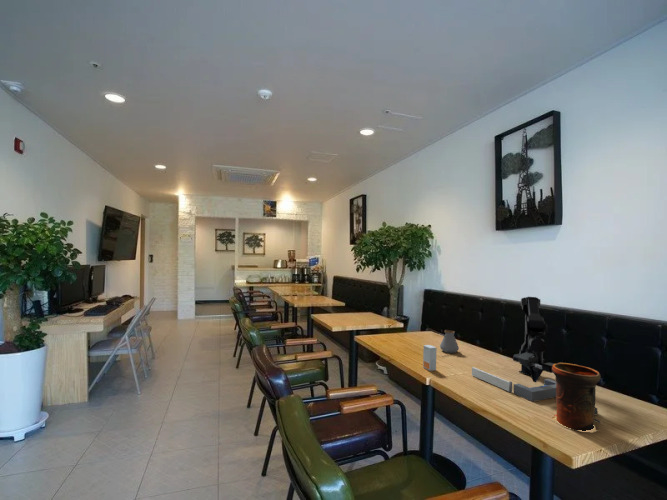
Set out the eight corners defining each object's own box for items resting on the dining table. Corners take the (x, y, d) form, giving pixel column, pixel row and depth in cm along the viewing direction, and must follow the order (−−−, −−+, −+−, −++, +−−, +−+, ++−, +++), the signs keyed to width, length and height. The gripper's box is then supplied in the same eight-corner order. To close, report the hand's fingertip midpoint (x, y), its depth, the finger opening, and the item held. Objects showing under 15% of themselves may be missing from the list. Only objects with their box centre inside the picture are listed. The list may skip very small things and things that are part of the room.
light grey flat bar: (512, 392, 150) (512, 382, 150) (510, 392, 150) (510, 382, 150) (473, 375, 172) (473, 366, 172) (471, 375, 171) (471, 366, 171)
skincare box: (422, 367, 182) (423, 345, 183) (429, 366, 184) (429, 344, 184) (429, 371, 177) (430, 348, 177) (436, 370, 178) (436, 347, 178)
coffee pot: (453, 348, 223) (453, 326, 223) (462, 353, 211) (462, 329, 212) (422, 349, 220) (422, 326, 220) (429, 354, 208) (430, 329, 209)
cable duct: (548, 387, 158) (548, 378, 158) (568, 394, 150) (568, 385, 150) (513, 393, 150) (513, 384, 150) (532, 401, 141) (532, 391, 141)
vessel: (563, 411, 133) (565, 360, 133) (606, 428, 120) (608, 372, 120) (541, 418, 126) (543, 364, 126) (585, 438, 113) (587, 378, 113)
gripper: (504, 343, 158) (504, 376, 158) (542, 354, 141) (542, 392, 141) (521, 341, 163) (521, 374, 162) (560, 352, 145) (560, 388, 145)
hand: (534, 381), depth 152 cm, fingers closed
